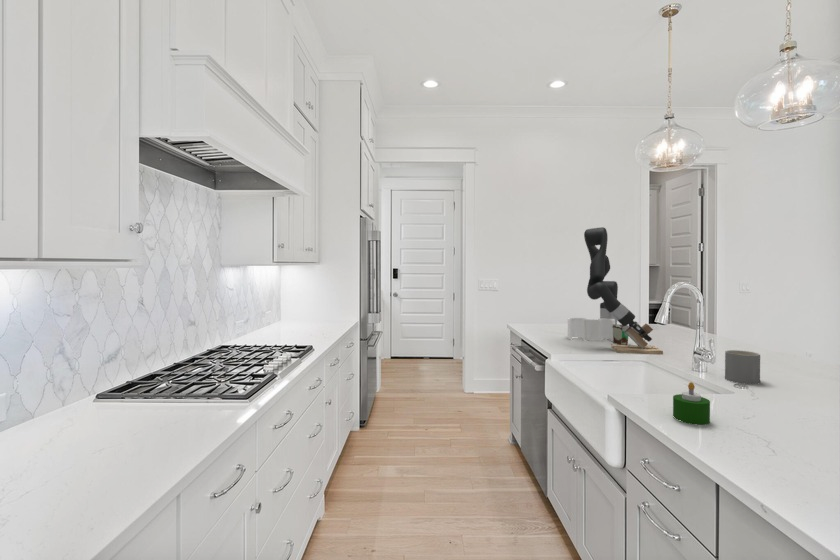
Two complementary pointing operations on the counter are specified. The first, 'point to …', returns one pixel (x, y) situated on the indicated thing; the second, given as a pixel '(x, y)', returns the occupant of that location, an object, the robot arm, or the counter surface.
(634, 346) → the oak board
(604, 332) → the pale grey segmented block
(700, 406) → the candle
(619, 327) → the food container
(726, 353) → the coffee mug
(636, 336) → the block
